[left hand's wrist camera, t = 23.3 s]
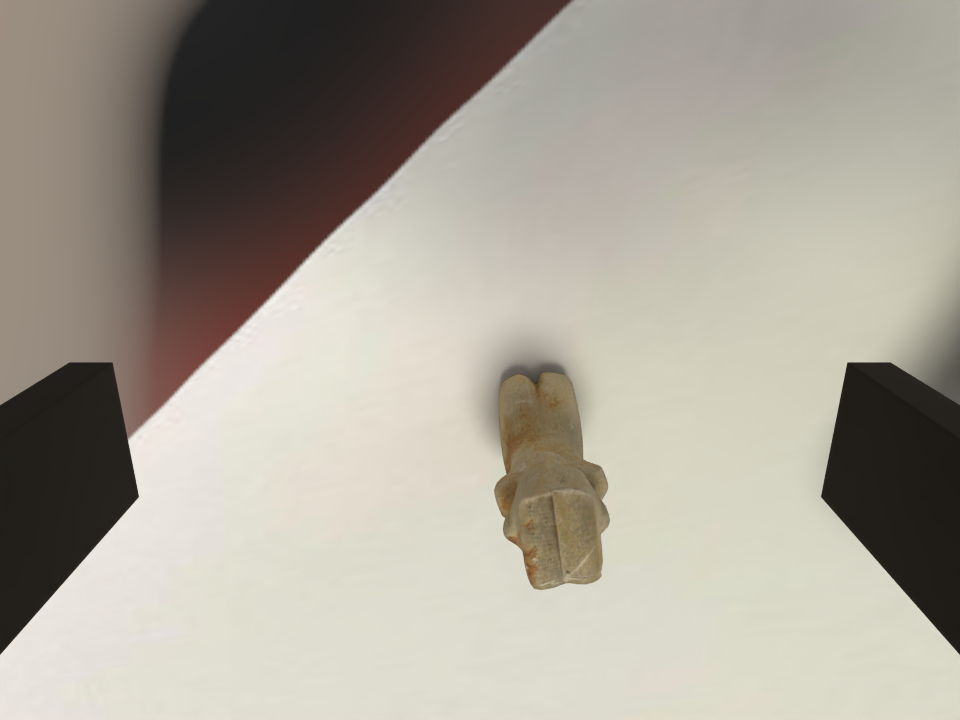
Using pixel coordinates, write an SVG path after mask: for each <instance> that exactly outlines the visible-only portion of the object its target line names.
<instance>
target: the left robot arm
mask: <svg viewBox="0 0 960 720" xmlns="http://www.w3.org/2000/svg"><path fill="white" fill-rule="evenodd" d="M138 497H139V495H138V490H137V484H136V479H135V474H134V469H133V464H132V459H131V454H130V449H129V444H128V439H127V434H126V429H125V424H124V418H123V413H122V408H121V403H120V398H119V393H118V388H117V383H116V378H115V373H114V368H113V363H68V364H67V365H65V366H63V367H62V368H60V369H58V370H57V371H55V372H53V373H52V374H50V375H49V376H47V377H45V378H44V379H42V380H41V381H39V382H37V383H36V384H34V385H33V386H31V387H29V388H28V389H26V390H24V391H23V392H21V393H19V394H18V395H16V396H15V397H13V398H11V399H10V400H8V401H7V402H5V403H3V404H2V405H0V654H1V653H2V652H3V651H4V650H5V649H6V647H7V646H8V645H9V644H10V643H11V642H12V641H13V639H14V638H15V637H16V636H17V635H18V634H19V633H20V632H21V630H22V629H23V628H24V627H25V626H26V625H27V624H28V622H29V621H30V620H31V619H32V618H33V617H34V616H35V614H36V613H37V612H38V611H39V610H40V609H41V608H42V607H43V605H44V604H45V603H46V602H47V601H48V600H49V599H50V597H51V596H52V595H53V594H54V593H55V592H56V591H57V589H58V588H59V587H60V586H61V585H62V584H63V583H64V582H65V580H66V579H67V578H68V577H69V576H70V575H71V574H72V572H73V571H74V570H75V569H76V568H77V567H78V566H79V564H80V563H81V562H82V561H83V560H84V559H85V558H86V557H87V555H88V554H89V553H90V552H91V551H92V550H93V549H94V547H95V546H96V545H97V544H98V543H99V542H100V541H101V539H102V538H103V537H104V536H105V535H106V534H107V533H108V532H109V530H110V529H111V528H112V527H113V526H114V525H115V524H116V522H117V521H118V520H119V519H120V518H121V517H122V516H123V514H124V513H125V512H126V511H127V510H128V509H129V508H130V506H131V505H132V504H133V503H134V502H135V501H136V500H137V499H138ZM821 497H822V499H823V500H824V501H825V502H826V503H827V504H828V505H829V506H830V508H831V509H832V510H833V511H834V512H835V513H836V514H837V516H838V517H839V518H840V519H841V520H842V521H843V522H844V524H845V525H846V526H847V527H848V528H849V529H850V530H851V532H852V533H853V534H854V535H855V536H856V537H857V538H858V539H859V541H860V542H861V543H862V544H863V545H864V546H865V547H866V549H867V550H868V551H869V552H870V553H871V554H872V555H873V557H874V558H875V559H876V560H877V561H878V562H879V563H880V564H881V566H882V567H883V568H884V569H885V570H886V571H887V572H888V574H889V575H890V576H891V577H892V578H893V579H894V580H895V582H896V583H897V584H898V585H899V586H900V587H901V588H902V589H903V591H904V592H905V593H906V594H907V595H908V596H909V597H910V599H911V600H912V601H913V602H914V603H915V604H916V605H917V607H918V608H919V609H920V610H921V611H922V612H923V613H924V614H925V616H926V617H927V618H928V619H929V620H930V621H931V622H932V624H933V625H934V626H935V627H936V628H937V629H938V630H939V632H940V633H941V634H942V635H943V636H944V637H945V638H946V640H947V641H948V642H949V643H950V644H951V645H952V646H953V647H954V649H955V650H956V651H957V652H958V653H959V654H960V405H958V404H957V403H955V402H954V401H952V400H950V399H949V398H947V397H945V396H944V395H942V394H941V393H939V392H937V391H936V390H934V389H932V388H931V387H929V386H928V385H926V384H924V383H923V382H921V381H919V380H918V379H916V378H915V377H913V376H911V375H910V374H908V373H907V372H905V371H903V370H902V369H900V368H898V367H897V366H895V365H894V364H892V363H847V368H846V373H845V378H844V383H843V388H842V393H841V398H840V403H839V408H838V413H837V418H836V424H835V429H834V434H833V439H832V444H831V449H830V454H829V459H828V464H827V469H826V474H825V479H824V484H823V490H822V495H821Z"/></svg>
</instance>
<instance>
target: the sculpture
mask: <svg viewBox="0 0 960 720" xmlns="http://www.w3.org/2000/svg"><path fill="white" fill-rule="evenodd" d="M499 424H500V437H501V446H502V453H503V460H504V465H505V469H506V473H507V475H505V476H504V477H502V478H501V479H500V480H499V481H498V482H497V484H496V486H495V490H494V492H495V498H496V501H497V504H498V507H499V509H500V511H501V514H502V516H503V517H505V521H504V526H503V532H504V535H505V537H506V538H507V539H508V540H509V541H511V542H513V543H514V544H516V545H517V546H518V547H519V548H520V549H521V550H522V551H523V556H524V563H525V568H526V572H527V576H528V578H529V581H530V584H531V585H532V586H533V588H534V589H539V590H544V589H550V588H554V587H557V586H559V585H561V584H565V583H574V584H589V583H593V582H595V581H597V580H598V579H599V578H600V577H601V570H602V563H603V558H602V544H601V533H602V532H603V531H604V530H605V529H606V528H607V527H608V525H609V522H610V519H609V514H608V511H607V509H606V506H605V505H604V503H603V502H602V499H603V497H604V496H605V494H606V492H607V490H608V483H607V479H606V477H605V474H604V472H603V470H602V468H601V467H600V466H599V465H596V464H593V463H590V462H587V461H585V460H583V441H582V431H581V423H580V417H579V412H578V407H577V401H576V397H575V393H574V389H573V386H572V383H571V380H570V379H569V378H568V377H567V376H565V375H563V374H557V373H550V372H546V373H542V374H541V375H540V378H539V381H538V383H536V384H535V383H533V382H532V381H531V380H530V379H529V378H527V377H526V376H524V375H519V374H518V375H514V376H512V377H510V378H508V379H506V380H505V381H504V382H503V384H502V386H501V388H500V393H499Z"/></svg>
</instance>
